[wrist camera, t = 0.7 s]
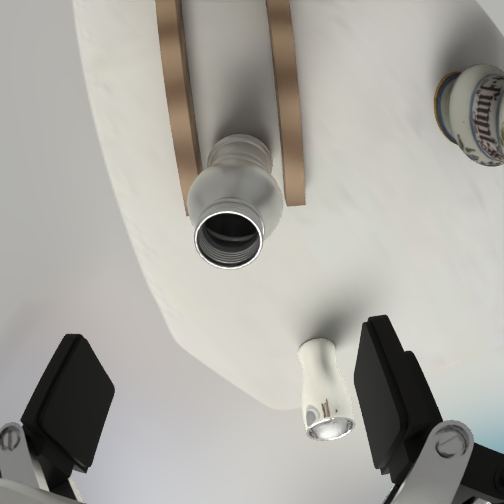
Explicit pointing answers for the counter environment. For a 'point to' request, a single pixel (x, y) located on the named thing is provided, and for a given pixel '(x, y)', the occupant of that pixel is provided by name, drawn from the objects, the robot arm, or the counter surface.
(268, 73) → the counter surface
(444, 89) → the apothecary jar
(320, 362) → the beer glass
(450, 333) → the counter surface
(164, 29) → the guide track
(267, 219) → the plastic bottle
